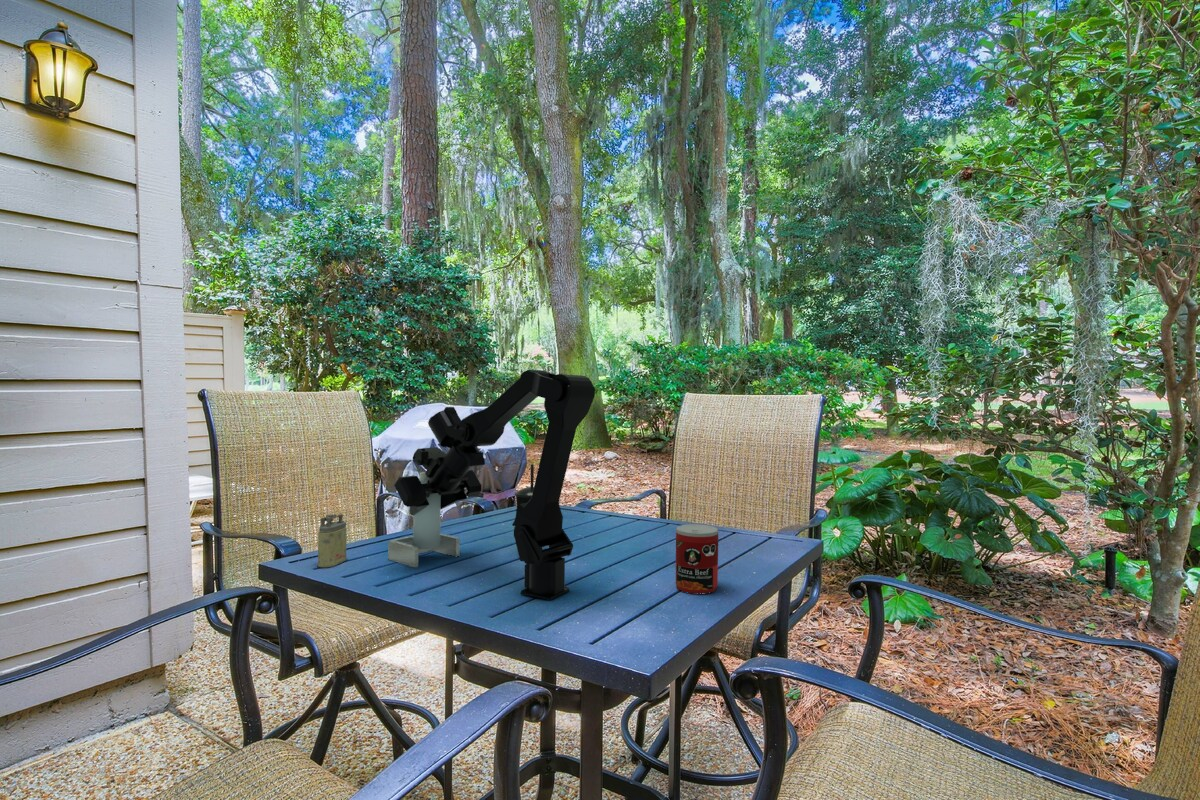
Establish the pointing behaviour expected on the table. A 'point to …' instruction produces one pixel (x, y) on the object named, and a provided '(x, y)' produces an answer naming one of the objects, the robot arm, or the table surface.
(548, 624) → the table surface
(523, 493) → the drinking cup
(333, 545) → the lighter
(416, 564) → the hook bracket
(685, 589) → the canned food
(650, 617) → the table surface
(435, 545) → the bottle
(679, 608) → the table surface
